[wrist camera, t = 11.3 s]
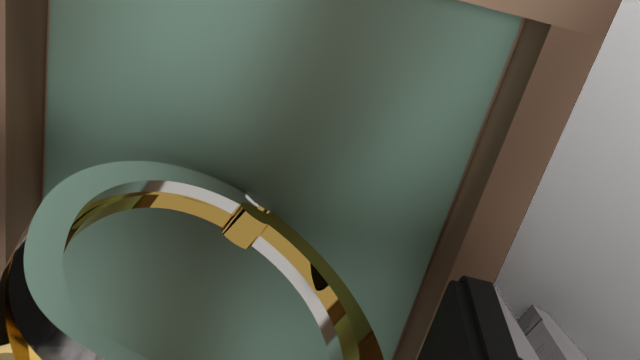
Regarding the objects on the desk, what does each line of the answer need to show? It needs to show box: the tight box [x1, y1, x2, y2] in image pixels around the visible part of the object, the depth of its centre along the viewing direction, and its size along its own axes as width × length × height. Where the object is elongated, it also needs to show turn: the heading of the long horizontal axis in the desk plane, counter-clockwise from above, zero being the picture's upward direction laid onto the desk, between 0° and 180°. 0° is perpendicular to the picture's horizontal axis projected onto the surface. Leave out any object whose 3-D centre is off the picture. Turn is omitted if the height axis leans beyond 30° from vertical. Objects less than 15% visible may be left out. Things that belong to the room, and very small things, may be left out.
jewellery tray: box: [0, 0, 622, 360], centre depth 14 cm, size 12×14×2 cm
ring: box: [0, 161, 384, 360], centre depth 10 cm, size 7×3×8 cm, turn 53°
